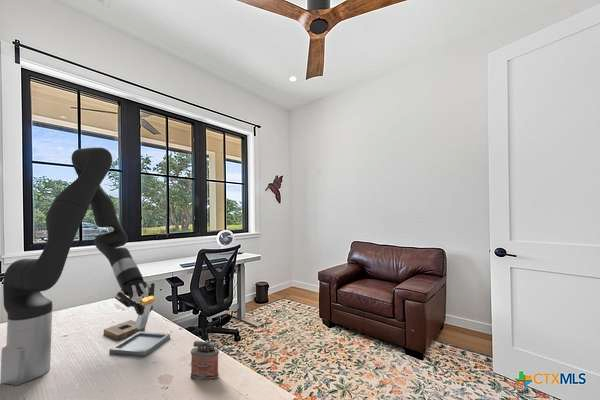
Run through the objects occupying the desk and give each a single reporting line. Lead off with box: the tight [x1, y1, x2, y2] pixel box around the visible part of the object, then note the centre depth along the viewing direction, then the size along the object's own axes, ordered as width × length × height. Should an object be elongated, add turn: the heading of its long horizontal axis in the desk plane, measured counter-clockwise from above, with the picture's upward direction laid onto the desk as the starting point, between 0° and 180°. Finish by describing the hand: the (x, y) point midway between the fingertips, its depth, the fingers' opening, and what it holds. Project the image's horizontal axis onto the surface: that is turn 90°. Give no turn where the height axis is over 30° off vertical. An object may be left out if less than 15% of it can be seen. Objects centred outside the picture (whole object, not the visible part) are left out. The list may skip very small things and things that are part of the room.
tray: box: [109, 331, 171, 358], centre depth 94 cm, size 13×13×2 cm
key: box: [135, 296, 156, 330], centre depth 94 cm, size 4×2×12 cm, turn 151°
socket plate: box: [103, 319, 146, 341], centre depth 104 cm, size 10×10×2 cm
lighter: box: [190, 339, 220, 382], centre depth 76 cm, size 8×3×10 cm, turn 84°
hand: (146, 312), depth 93 cm, fingers closed on key, 2 cm apart
